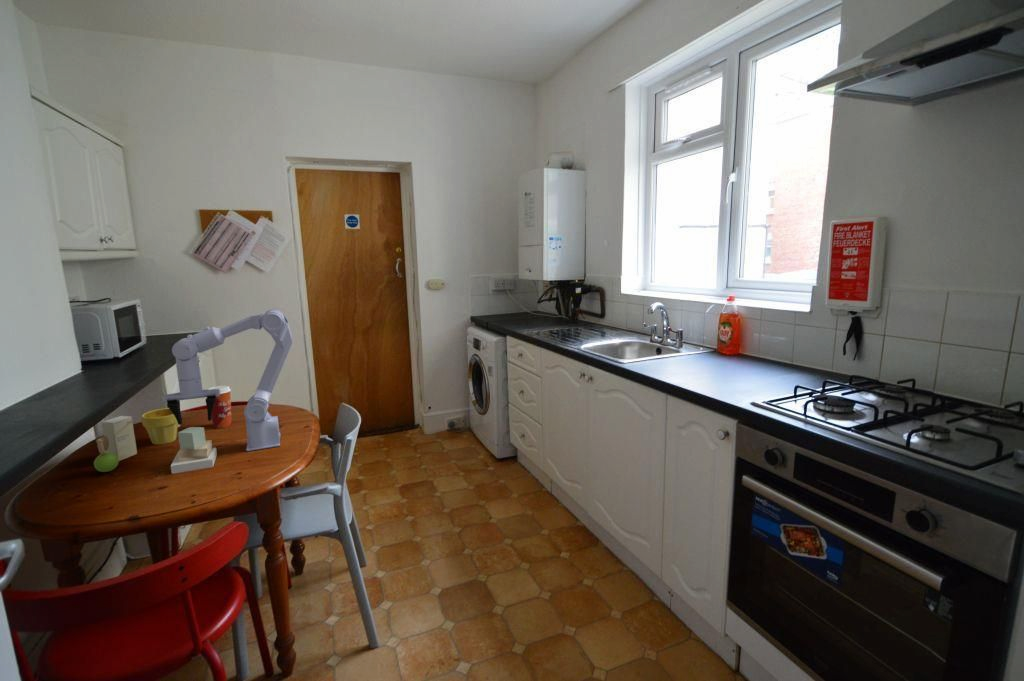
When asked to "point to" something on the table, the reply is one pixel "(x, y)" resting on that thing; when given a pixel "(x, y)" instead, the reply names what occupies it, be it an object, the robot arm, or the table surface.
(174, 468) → the grey base block
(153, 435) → the plant pot
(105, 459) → the snail figurine
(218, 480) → the table surface
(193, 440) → the sage block
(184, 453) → the beech top block
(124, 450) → the skincare box
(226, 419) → the paper cup
